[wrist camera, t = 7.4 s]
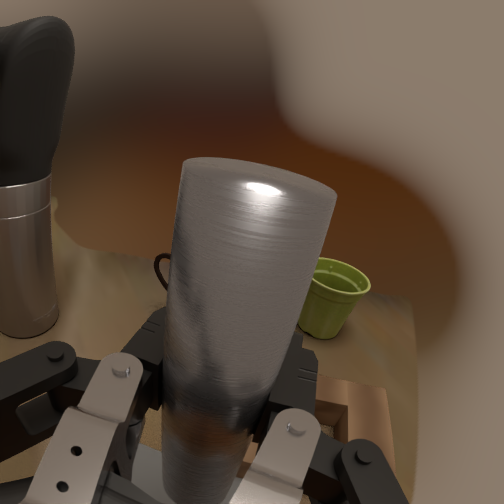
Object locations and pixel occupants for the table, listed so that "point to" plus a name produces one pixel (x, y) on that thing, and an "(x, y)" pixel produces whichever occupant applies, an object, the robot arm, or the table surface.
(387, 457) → the socket block
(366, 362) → the table surface
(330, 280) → the plant pot
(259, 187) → the steel pin
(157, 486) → the mat
